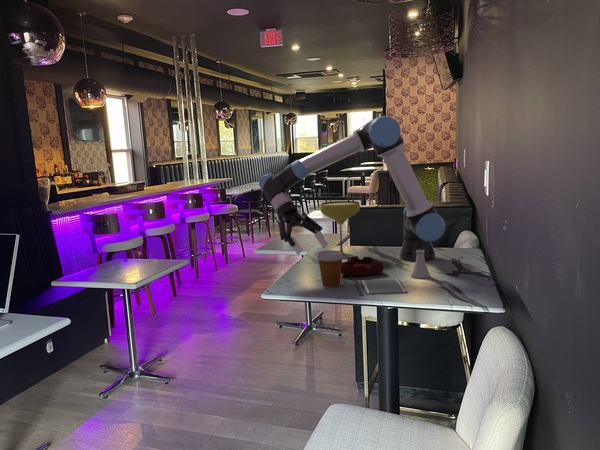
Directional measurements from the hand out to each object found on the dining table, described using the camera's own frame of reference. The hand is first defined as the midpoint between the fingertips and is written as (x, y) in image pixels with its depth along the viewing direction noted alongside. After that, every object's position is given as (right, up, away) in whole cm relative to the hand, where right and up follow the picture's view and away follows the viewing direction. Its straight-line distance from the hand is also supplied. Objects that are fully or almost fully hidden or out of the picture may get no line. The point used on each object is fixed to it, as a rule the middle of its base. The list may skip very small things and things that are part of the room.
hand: (313, 249), depth 171 cm
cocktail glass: (+14, -6, +43) cm, 46 cm away
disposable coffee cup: (+6, -13, -3) cm, 15 cm away
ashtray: (+20, -10, +12) cm, 26 cm away
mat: (+24, -13, -9) cm, 29 cm away
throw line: (+16, -13, -9) cm, 22 cm away
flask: (+41, -11, +3) cm, 42 cm away
